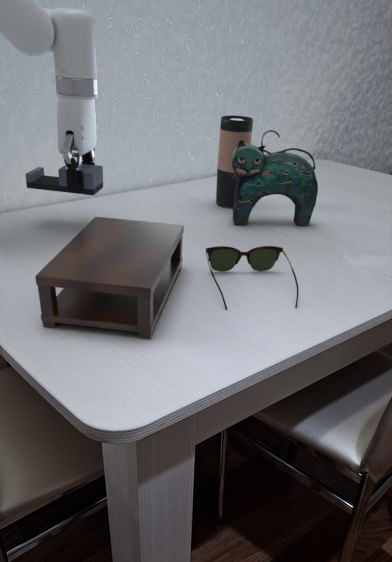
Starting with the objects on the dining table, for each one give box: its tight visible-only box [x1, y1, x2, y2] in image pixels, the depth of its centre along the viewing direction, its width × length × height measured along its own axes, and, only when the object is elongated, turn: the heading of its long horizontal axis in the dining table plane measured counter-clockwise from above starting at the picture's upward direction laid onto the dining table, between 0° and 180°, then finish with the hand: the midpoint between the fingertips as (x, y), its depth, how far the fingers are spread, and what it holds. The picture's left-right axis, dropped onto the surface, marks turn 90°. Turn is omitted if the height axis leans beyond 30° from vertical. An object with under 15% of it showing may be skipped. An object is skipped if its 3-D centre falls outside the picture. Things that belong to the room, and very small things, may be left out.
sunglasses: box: [205, 245, 299, 311], centre depth 85 cm, size 14×15×5 cm
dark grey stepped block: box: [25, 164, 104, 196], centre depth 103 cm, size 14×7×4 cm, turn 82°
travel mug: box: [215, 114, 254, 209], centre depth 122 cm, size 8×8×20 cm
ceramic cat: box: [231, 129, 319, 227], centre depth 111 cm, size 20×6×20 cm, turn 95°
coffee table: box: [35, 216, 185, 340], centre depth 80 cm, size 16×26×8 cm, turn 172°
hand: (81, 184), depth 103 cm, fingers closed on dark grey stepped block, 6 cm apart
